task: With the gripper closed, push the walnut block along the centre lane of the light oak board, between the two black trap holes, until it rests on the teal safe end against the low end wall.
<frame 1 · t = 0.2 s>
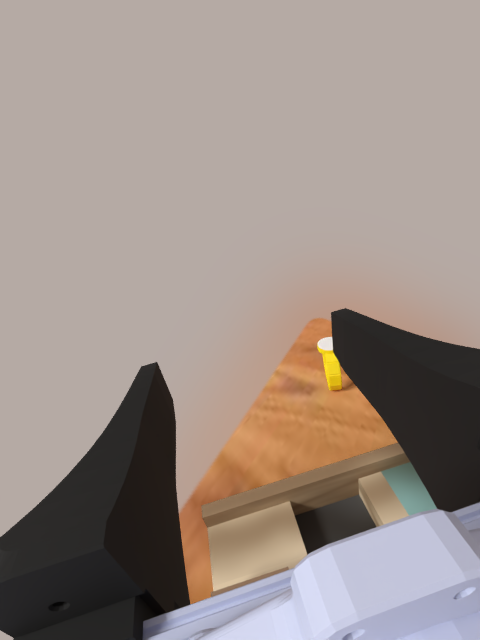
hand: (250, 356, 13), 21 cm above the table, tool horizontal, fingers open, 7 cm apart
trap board: (373, 616, 21), on the table
watch: (332, 382, 40), on the table
walnut block: (266, 638, 20), point 2 cm above the table, touching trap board
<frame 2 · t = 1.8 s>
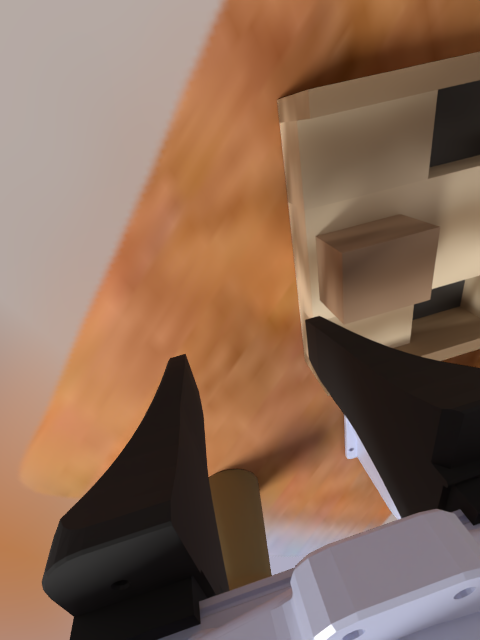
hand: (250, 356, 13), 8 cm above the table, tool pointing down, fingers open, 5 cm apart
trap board: (436, 220, 21), on the table
walnut block: (358, 259, 19), point 2 cm above the table, touching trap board
cork: (227, 487, 31), on the table
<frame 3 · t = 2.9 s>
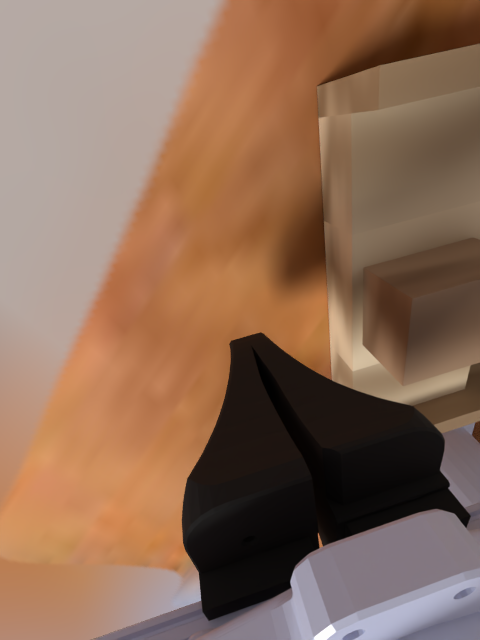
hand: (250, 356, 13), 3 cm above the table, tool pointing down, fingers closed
walnut block: (414, 294, 14), point 2 cm above the table, touching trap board
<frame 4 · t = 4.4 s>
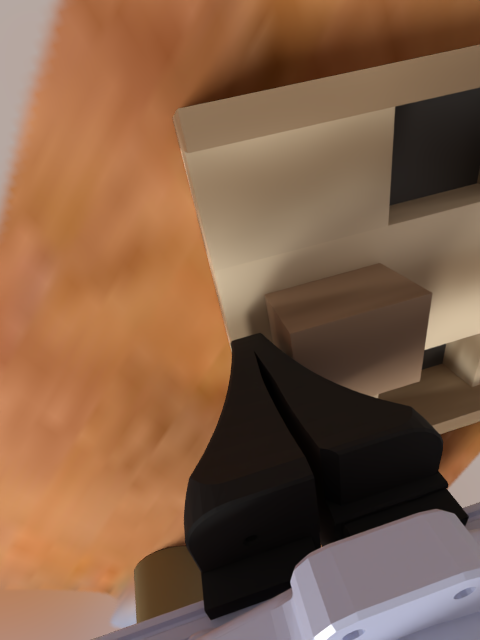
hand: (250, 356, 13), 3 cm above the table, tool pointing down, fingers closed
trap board: (408, 267, 17), on the table
walnut block: (325, 319, 14), point 3 cm above the table, touching gripper
cork: (172, 564, 26), on the table
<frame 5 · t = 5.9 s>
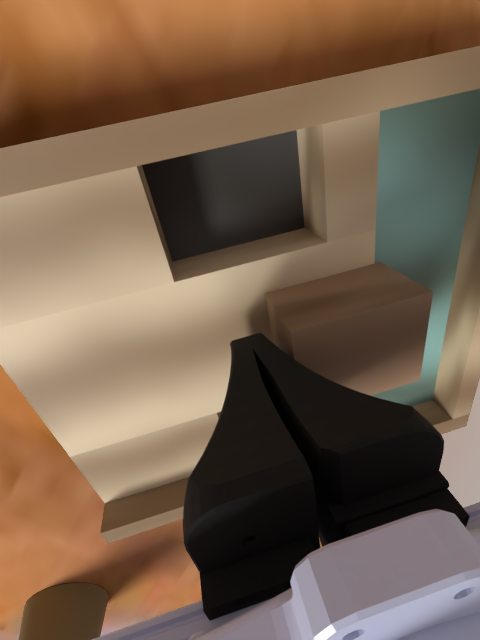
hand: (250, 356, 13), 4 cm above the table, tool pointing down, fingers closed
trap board: (251, 310, 16), on the table
walnut block: (325, 318, 14), point 3 cm above the table, touching gripper, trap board
cork: (68, 599, 26), on the table
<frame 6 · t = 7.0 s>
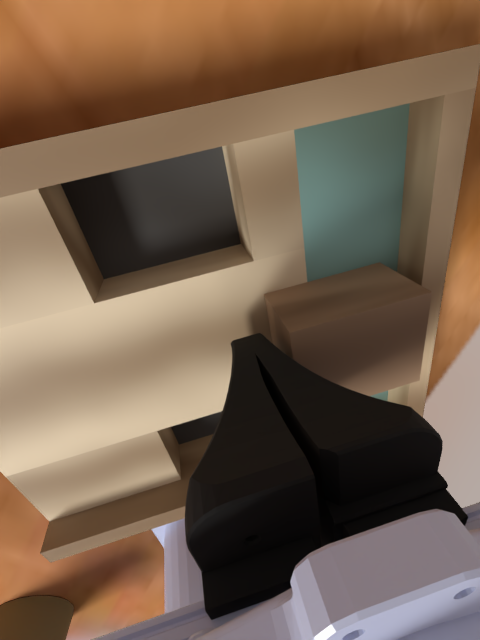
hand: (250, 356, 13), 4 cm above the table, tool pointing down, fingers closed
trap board: (194, 326, 16), on the table
walnut block: (325, 319, 14), point 2 cm above the table, touching gripper, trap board
cork: (32, 612, 25), on the table
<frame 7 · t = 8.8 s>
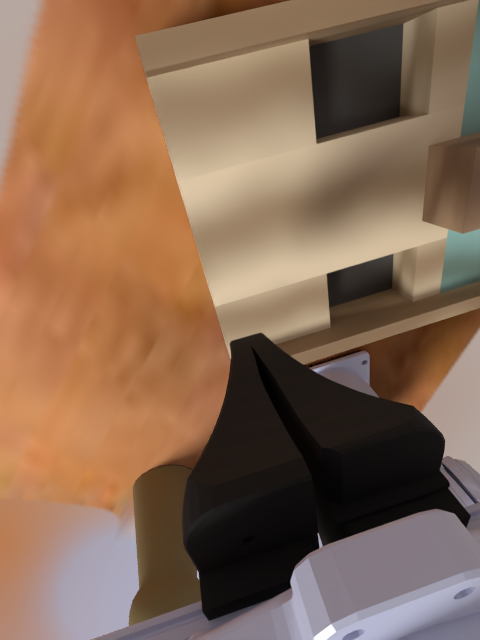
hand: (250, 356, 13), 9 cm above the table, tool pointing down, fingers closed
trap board: (350, 194, 20), on the table
walnut block: (465, 174, 18), point 2 cm above the table, touching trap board
cork: (166, 484, 30), on the table
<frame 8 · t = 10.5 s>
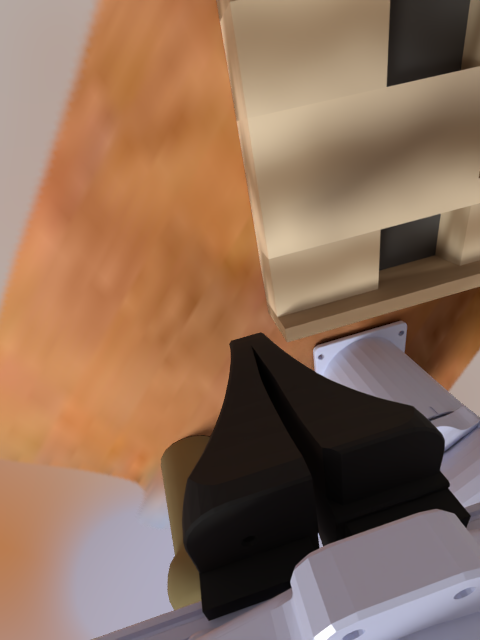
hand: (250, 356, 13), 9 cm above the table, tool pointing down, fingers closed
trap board: (404, 151, 20), on the table
cork: (194, 457, 29), on the table
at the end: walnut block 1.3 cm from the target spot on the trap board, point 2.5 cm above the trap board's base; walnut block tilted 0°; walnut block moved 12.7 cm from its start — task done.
